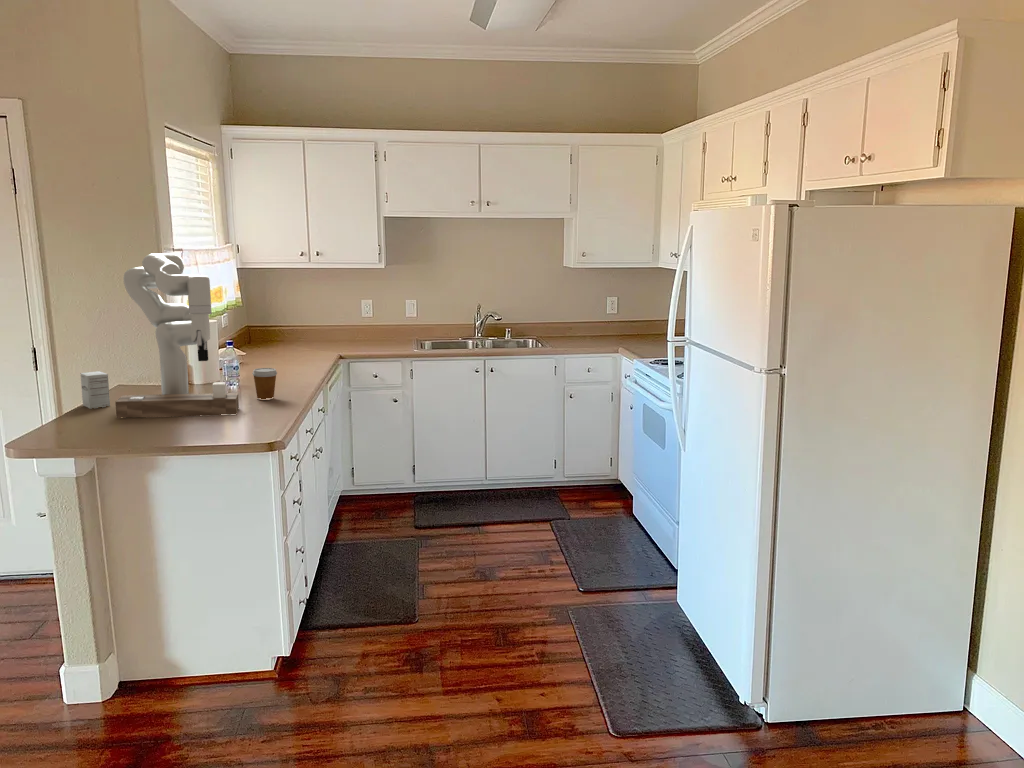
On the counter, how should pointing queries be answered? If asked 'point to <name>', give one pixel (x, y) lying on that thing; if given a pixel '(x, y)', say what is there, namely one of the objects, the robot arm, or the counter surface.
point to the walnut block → (176, 405)
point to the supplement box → (95, 389)
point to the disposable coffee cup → (265, 382)
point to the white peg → (219, 389)
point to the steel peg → (136, 398)
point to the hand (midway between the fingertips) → (203, 360)
